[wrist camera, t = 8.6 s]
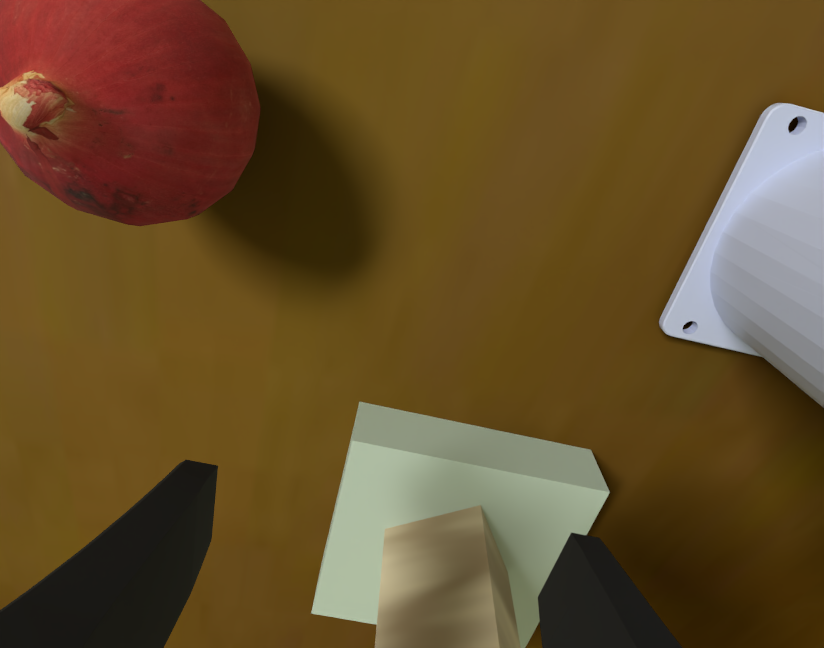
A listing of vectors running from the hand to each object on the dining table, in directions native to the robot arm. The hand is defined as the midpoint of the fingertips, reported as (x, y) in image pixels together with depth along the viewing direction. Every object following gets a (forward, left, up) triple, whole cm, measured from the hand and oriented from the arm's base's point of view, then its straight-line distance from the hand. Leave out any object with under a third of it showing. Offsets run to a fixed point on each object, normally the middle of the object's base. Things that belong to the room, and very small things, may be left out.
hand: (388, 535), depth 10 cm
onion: (+8, -6, -10) cm, 14 cm away
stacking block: (-4, +9, -10) cm, 14 cm away
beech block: (-4, +9, -8) cm, 12 cm away
